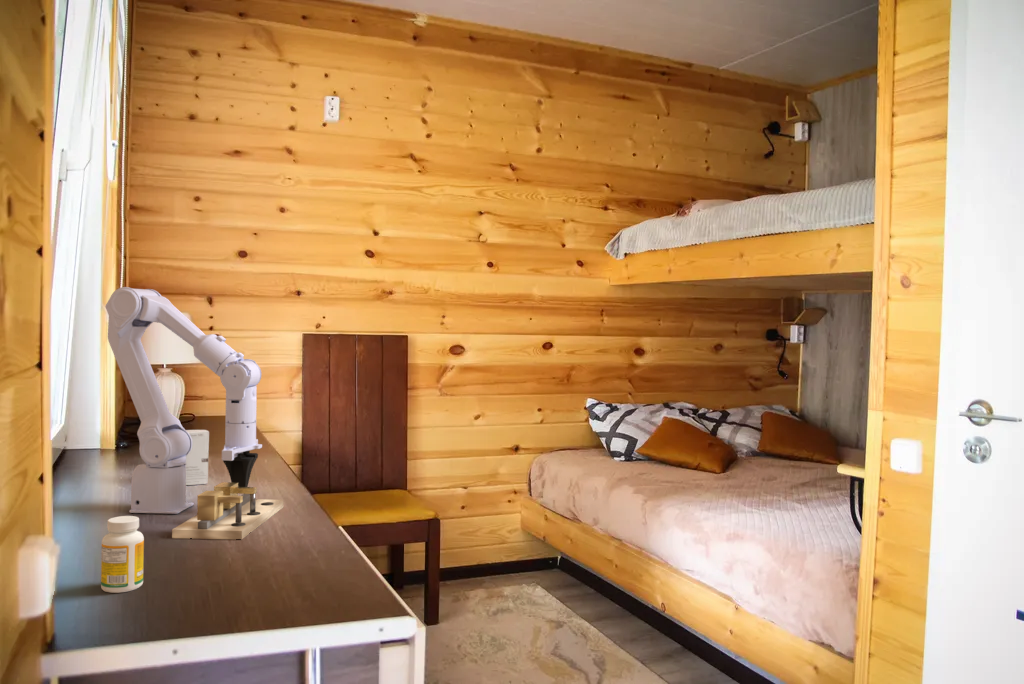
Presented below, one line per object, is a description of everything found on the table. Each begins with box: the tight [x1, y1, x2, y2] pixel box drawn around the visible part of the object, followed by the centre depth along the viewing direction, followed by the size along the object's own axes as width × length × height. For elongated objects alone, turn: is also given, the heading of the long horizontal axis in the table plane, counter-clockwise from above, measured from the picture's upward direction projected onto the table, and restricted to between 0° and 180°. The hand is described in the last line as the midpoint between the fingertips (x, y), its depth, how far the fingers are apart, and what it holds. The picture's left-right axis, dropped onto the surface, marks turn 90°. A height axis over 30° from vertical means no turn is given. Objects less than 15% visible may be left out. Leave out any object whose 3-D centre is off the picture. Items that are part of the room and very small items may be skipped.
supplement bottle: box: [100, 515, 145, 594], centre depth 112 cm, size 5×5×10 cm
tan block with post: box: [213, 481, 258, 513], centre depth 148 cm, size 7×4×5 cm, turn 89°
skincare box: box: [185, 429, 210, 486], centre depth 182 cm, size 6×4×12 cm
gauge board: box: [171, 490, 284, 540], centre depth 149 cm, size 12×24×7 cm, turn 179°
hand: (240, 491), depth 156 cm, fingers closed
